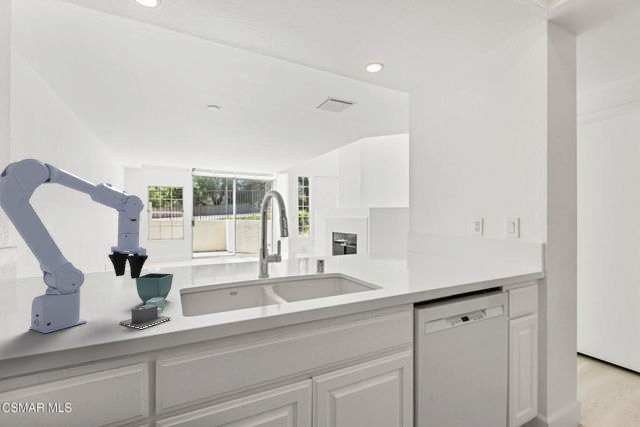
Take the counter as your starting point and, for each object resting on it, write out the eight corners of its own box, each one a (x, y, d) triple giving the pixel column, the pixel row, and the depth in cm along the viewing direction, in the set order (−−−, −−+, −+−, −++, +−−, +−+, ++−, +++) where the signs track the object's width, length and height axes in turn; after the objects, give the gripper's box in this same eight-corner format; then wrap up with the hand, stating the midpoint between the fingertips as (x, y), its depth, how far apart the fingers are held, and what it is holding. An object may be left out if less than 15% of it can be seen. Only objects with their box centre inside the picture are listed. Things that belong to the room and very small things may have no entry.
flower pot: (160, 305, 103) (160, 278, 103) (134, 304, 103) (134, 277, 103) (173, 298, 111) (173, 273, 112) (149, 298, 112) (149, 273, 112)
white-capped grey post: (136, 324, 82) (136, 311, 82) (128, 322, 84) (128, 309, 84) (163, 316, 89) (163, 304, 89) (155, 314, 91) (155, 302, 91)
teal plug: (155, 314, 93) (155, 302, 93) (143, 314, 92) (143, 302, 93) (166, 307, 101) (166, 296, 101) (155, 307, 100) (156, 296, 100)
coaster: (140, 329, 80) (141, 327, 80) (119, 324, 84) (119, 321, 84) (171, 319, 88) (171, 317, 88) (150, 315, 92) (150, 313, 92)
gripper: (155, 233, 97) (154, 277, 97) (126, 232, 104) (125, 272, 103) (133, 234, 91) (132, 281, 91) (104, 233, 97) (103, 276, 97)
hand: (127, 277), depth 97 cm, fingers open, 7 cm apart
